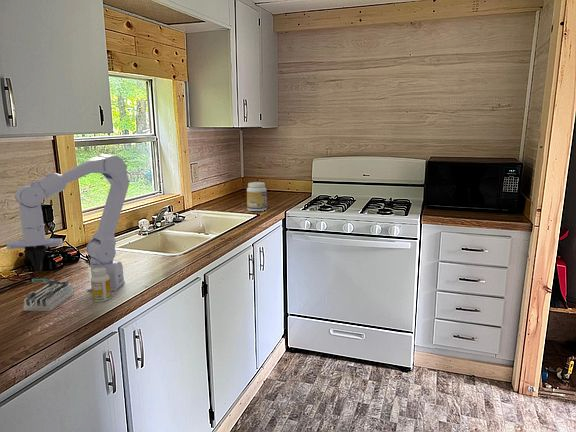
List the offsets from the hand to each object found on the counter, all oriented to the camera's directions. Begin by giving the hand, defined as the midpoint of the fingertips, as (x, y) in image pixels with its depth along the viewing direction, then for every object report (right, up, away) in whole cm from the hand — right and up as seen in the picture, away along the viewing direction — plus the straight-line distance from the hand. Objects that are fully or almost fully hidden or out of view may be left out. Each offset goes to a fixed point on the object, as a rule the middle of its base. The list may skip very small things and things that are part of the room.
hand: (38, 270), depth 131 cm
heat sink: (+2, -10, +3) cm, 11 cm away
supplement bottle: (+17, -10, +5) cm, 20 cm away
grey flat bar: (+2, -4, +2) cm, 5 cm away
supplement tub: (+56, +20, +137) cm, 149 cm away
